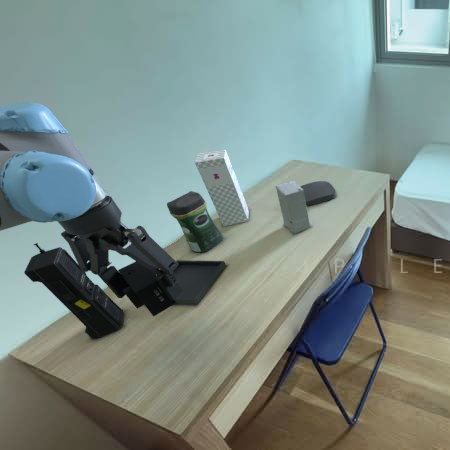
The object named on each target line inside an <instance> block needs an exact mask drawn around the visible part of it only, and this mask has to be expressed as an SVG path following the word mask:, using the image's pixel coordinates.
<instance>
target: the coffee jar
mask: <svg viewBox="0 0 450 450" xmlns="http://www.w3.org/2000/svg"><path fill="white" fill-rule="evenodd" d="M166 207H167V208H168V212H169V214H170V216H172V217H173V218H174V219H175V220H176V221H177V223H178V224H179V226H180V228H181V230H182V232H183V235H184V238H185V240H186V243H187V245H188V247H189V249H190V250H191V251H193V252H196V253H205V252H207V251H209V250H210V249H212V248H214V247H215V246H217V245H218V244H219V243H221V241H222V240H223V235H222V233H221V231H220V230H219V228H218V227H217V224H215V222H214V220H213V219H212V217H211V215H210V214H209V212H208V208H207V202H206V200H205V199H204V198H203V196H202V195H201V194H200V193H199V192H197V191H191V190H190V191H188V192H187V193H184V194H182V195H181V196H179V197H177V198H175V199H173V200H171V201H168V202H167V203H166Z"/></svg>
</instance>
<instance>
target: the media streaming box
mask: <svg viewBox="0 0 450 450" xmlns="http://www.w3.org/2000/svg"><path fill="white" fill-rule="evenodd" d="M299 187H301V188H302V189H303V190H304V196H305V201H306V206H313V205H317V204H320V203H323V202H328V201H329V200H332V199H334V198H336V196H337V193H336V189H335V187H334V186H333V184H332V183H330V182H329V181H327V180H320V181H312V182H308V183H305V184H302V185H299Z"/></svg>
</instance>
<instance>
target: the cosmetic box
mask: <svg viewBox="0 0 450 450" xmlns="http://www.w3.org/2000/svg"><path fill="white" fill-rule="evenodd" d="M275 189H276V193H277V197H278V202H279V207H280V211H281V215H282V220H283V224H284V225H285V227H286V228H287V229H288V230H289V231H290V232H291V233H292V234H294V235H296V234H298V233H300V232H303V231H305V230H307V229H309V228H311V223H310V218H309V213H308V208H307V205H306V201H305V196H304V190H303V189H302V188H301V187H300V185H299V184H297V183H296V182H295V181H293V180H291V181H288V182H285V183H281V184H278V185H276V186H275Z"/></svg>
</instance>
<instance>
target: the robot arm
mask: <svg viewBox="0 0 450 450" xmlns="http://www.w3.org/2000/svg"><path fill="white" fill-rule="evenodd" d="M121 220H122V211H121V209H120V208H119V206H118V205H117V203H116V202H115V200H114V199H113V198H112V196H110V195H108V191H107V189H106V188H105V186H104V185H103V183H102V182H101V181H100V179H99V178H98V176H97V175H96V174H95V172H94V170H93V169H92V167H91V166H90V164H89V162H88V161H87V160H86V158H85V156H84V155H83V154H82V153H81V151H80V150H79V148H78V146H77V145H76V144H75V142H74V141H73V139H72V137H71V136H70V134H69V131H68V130H66V128H65V127H64V126H63V125H62V123H61V122H60V120H59V119H58V118H57V117H56V116H55V115H54V114H53V112H52V111H51V110H50V109H49V108H48V107H46V105H43V104H41V103H38V102H17V103H16V102H15V103H9V104H3V105H0V232H1V231H5V230H8V229H11V228H14V227H18V226H21V225H23V224H27V223H30V222H36V223H42V224H43V223H45V224H46V223H54V222H57V223H58V224H59V225H60V226H61V228H63V231H62V232H61V233H60V236H61V237H62V238H63V239H64V241H66V242H67V244H68V245H69V248H70V250H71V252H72V254H73V256H74V258H75V261H76V263H77V264H78V265H79V267H80V269H81V270H82V271H83V272H85V273H88V272H91V273H92V275H97V276H98V277H99V278H100V279H101V281H102V282H103V283H104V284H105V285H106V286H107V287H108V288H109V289H110V290H111V292H112V293H113V294H114V295H115V296H116V297H117V299H123V298H125V296H126V294H125V293H124V292H123V290H124V289H126V288H128V287H130V286H129V285H128V283H127V282H126V281H125V279H124V278H123V277H122V275H121V274H120V273H119V271H118V270H119V269H117V268H116V266H114V265H111V264H112V261H109V258H110V257H109V251H114V252H116V253H118V254H119V255H120V256H127V257H128V258H130V259H132V260H133V261H134V262H138V263H139V264H141V265H142V266H144V267H145V268H147V269H148V270H150V271H151V272H153V273H155V274H156V276H155V277H154V278H155V279H156V281H157V282H158V283H159V285H160V286H161V287H162V289H163V290H164V292H165V293H166V294H167V296H168V297H169V299H170V300H175V299H176V298H177V297H178V296H179V294H180V293H181V292H182V291H183V290H182V288H181V287H180V285H179V284H178V280H177V278H176V277H175V275H174V274H173V272H172V271H173V270H174V269H175V268H176V267H177V266H178V265H179V264H178V263H177V262H176V261H177V260H176V259H175V258H174V257H172V256H171V255H170V254H169V253H168V252H167V251H166V250H165V249H163V247H162V246H161V245H160V244H158V242H157V241H155V240H154V239H153V238H152V237H151V236H150V235H149V233H148V232H147V230H146V229H145V227H144V226H142V225H137V226H136V227H135V228H128V227H127V226H126V225H125V224H124V223H123V222H122V221H121ZM129 243H130V244H129ZM128 244H129V245H128ZM127 245H128V246H127ZM125 246H126V247H125Z"/></svg>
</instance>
